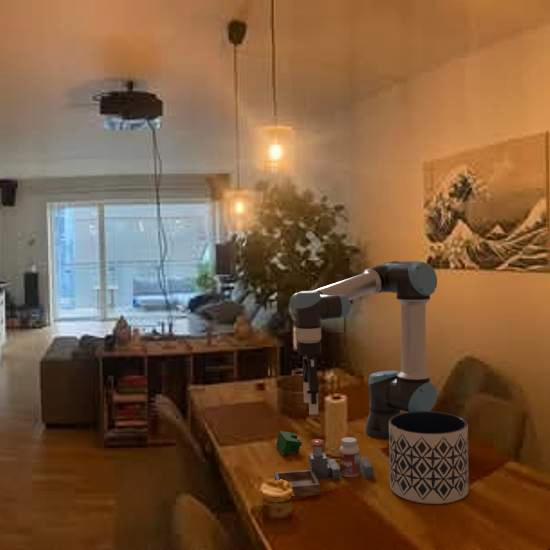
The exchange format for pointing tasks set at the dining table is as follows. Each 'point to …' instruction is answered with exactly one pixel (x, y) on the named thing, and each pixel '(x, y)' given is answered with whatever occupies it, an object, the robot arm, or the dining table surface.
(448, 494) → the planter
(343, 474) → the pill bottle
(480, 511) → the dining table surface
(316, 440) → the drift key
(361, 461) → the socket
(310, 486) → the tray
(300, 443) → the clamp
